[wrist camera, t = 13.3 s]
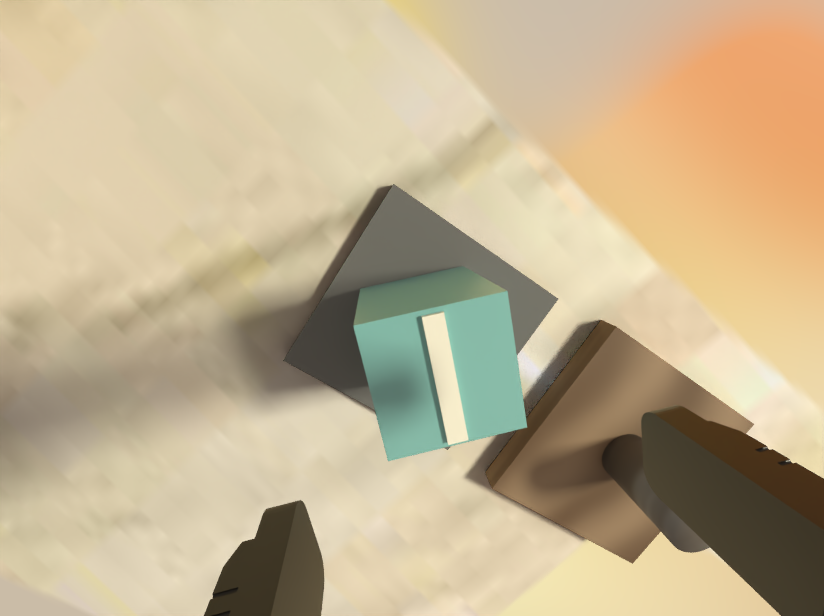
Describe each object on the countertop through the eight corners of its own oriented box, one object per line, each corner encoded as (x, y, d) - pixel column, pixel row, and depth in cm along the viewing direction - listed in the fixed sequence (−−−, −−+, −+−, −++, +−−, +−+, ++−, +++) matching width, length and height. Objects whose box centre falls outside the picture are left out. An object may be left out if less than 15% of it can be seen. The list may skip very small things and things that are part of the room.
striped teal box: (360, 288, 20) (353, 327, 13) (462, 265, 20) (509, 292, 13) (383, 383, 21) (388, 464, 15) (479, 361, 22) (529, 430, 15)
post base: (485, 472, 24) (527, 570, 18) (601, 319, 23) (697, 363, 16) (618, 544, 27) (700, 654, 20) (732, 412, 25) (863, 484, 18)
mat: (286, 355, 21) (283, 360, 21) (392, 185, 20) (393, 184, 19) (445, 442, 24) (447, 449, 23) (551, 296, 22) (558, 298, 21)
